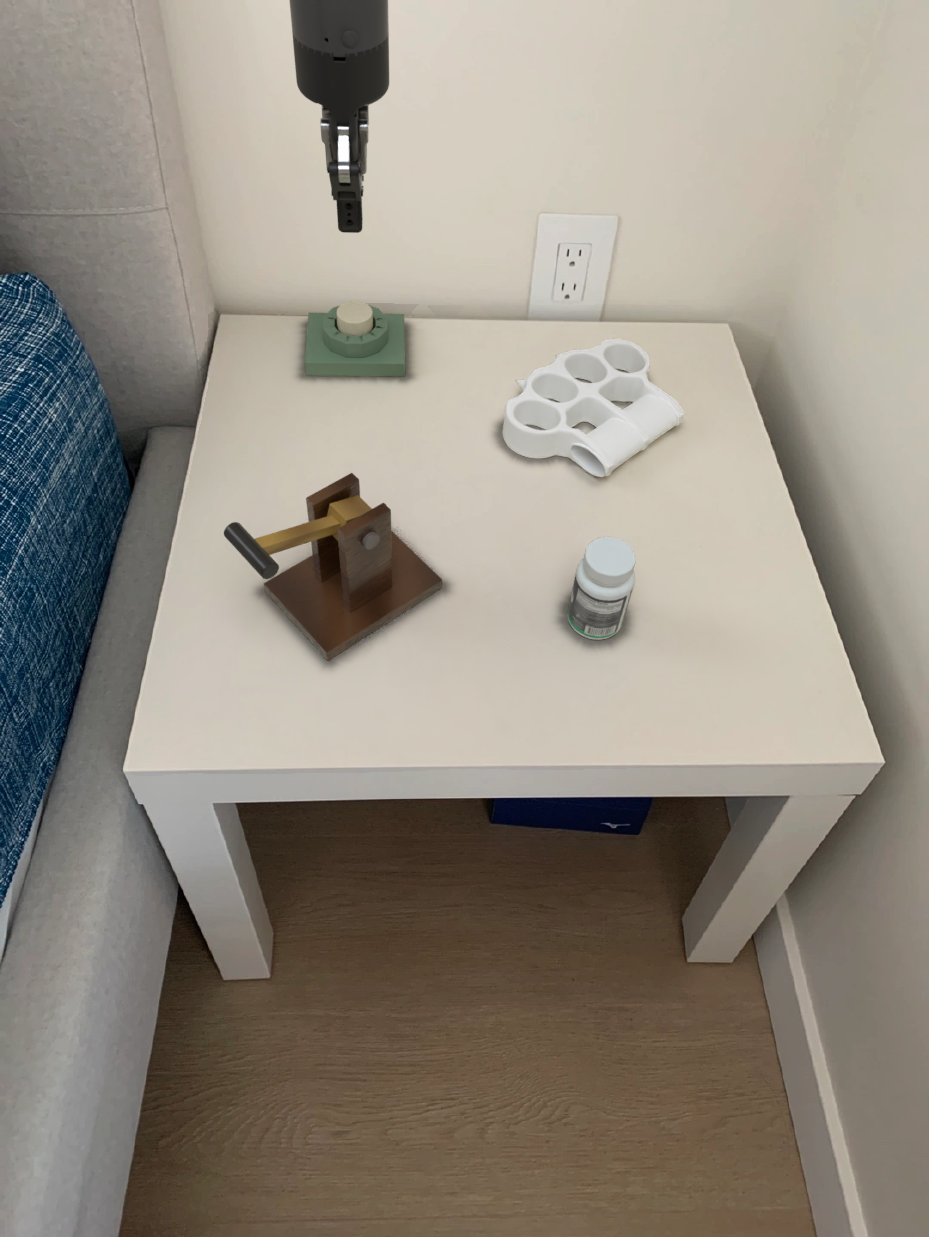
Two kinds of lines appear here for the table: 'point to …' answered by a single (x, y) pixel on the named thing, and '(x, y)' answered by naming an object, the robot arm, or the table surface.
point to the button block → (355, 347)
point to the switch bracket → (351, 576)
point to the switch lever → (292, 535)
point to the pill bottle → (602, 588)
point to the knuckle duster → (590, 408)
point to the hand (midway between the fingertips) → (350, 228)
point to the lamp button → (354, 318)
